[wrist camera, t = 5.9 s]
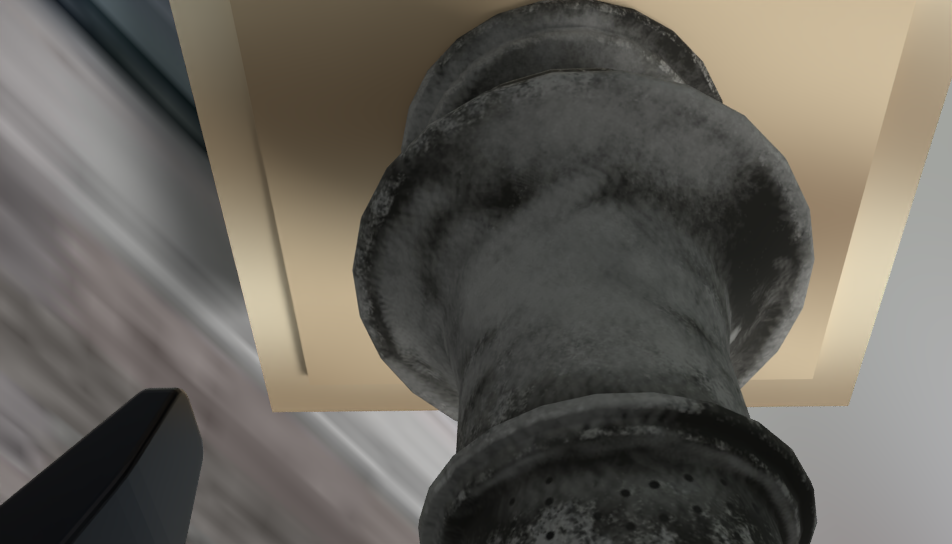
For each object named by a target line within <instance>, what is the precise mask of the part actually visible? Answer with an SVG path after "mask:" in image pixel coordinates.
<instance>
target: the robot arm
mask: <svg viewBox="0 0 952 544" xmlns="http://www.w3.org/2000/svg"><path fill="white" fill-rule="evenodd" d="M202 460H203V443H202V438H201V435H200V432H199V429H198V426H197V423H196V420H195V417H194V413H193V410H192V407H191V404H190V401H189V398H188V396H187V394H186V393H185V392H184V391H183V390H182V389H179V388H148V389H144V390H142V391H141V392H139V393H138V394H136V395H135V396H134V397H133V398H132V399H130V400H129V401H128V402H127V403H125V404H124V405H123V406H122V407H120V408H119V409H118V410H117V411H116V412H114V413H113V414H112V415H111V416H109V417H108V418H107V419H106V420H105V421H103V422H102V423H101V424H100V425H98V426H97V427H96V428H95V429H93V430H92V431H91V432H90V433H89V434H87V435H86V436H85V437H84V438H82V439H81V440H80V441H79V442H78V443H76V444H75V445H74V446H73V447H71V448H70V449H69V450H68V451H67V452H65V453H64V454H63V455H62V456H60V457H59V458H58V459H57V460H55V461H54V462H53V463H52V464H51V465H49V466H48V467H47V468H46V469H44V470H43V471H42V472H41V473H40V474H38V475H37V476H36V477H35V478H33V479H32V480H31V481H30V482H29V483H27V484H26V485H25V486H24V487H22V488H21V489H20V490H19V491H17V492H16V493H15V494H14V495H13V496H11V497H10V498H9V499H8V500H6V501H5V502H4V503H3V504H2V505H0V544H185V543H186V539H187V534H188V529H189V524H190V519H191V514H192V510H193V505H194V500H195V495H196V490H197V485H198V480H199V476H200V471H201V466H202Z"/></svg>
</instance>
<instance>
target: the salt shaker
mask: <svg viewBox="0 0 952 544" xmlns="http://www.w3.org/2000/svg"><path fill="white" fill-rule="evenodd" d="M814 260H815V258H814V247H813V237H812V226H811V215H810V208H809V206H808V204H807V202H806V200H805V198H804V196H803V193H802V191H801V189H800V187H799V185H798V183H797V181H796V179H795V176H794V174H793V172H792V170H791V168H790V166H789V164H788V161H787V160H786V158H785V157H784V156H783V154H782V153H781V152H780V151H779V150H778V149H777V148H776V147H775V146H774V145H773V144H772V143H771V142H770V141H769V140H768V139H767V138H766V137H765V136H764V135H763V134H762V133H761V132H760V131H759V130H758V129H757V128H756V127H755V126H754V125H753V124H752V123H751V122H750V121H749V119H748V118H747V117H746V116H745V115H743V114H741V113H739V112H737V111H736V110H734V109H732V108H730V107H728V106H726V105H724V104H723V101H722V99H721V97H720V95H719V93H718V91H717V89H716V87H715V85H714V83H713V81H712V79H711V77H710V75H709V72H708V70H707V68H706V66H705V64H704V63H703V61H702V60H701V59H700V58H699V57H698V56H697V55H696V54H695V53H694V52H693V51H692V50H691V49H690V48H689V46H688V45H687V44H686V43H685V42H684V41H683V40H682V39H681V38H680V37H679V36H678V35H677V34H676V33H675V32H674V31H673V30H671V29H669V28H667V27H666V26H664V25H662V24H660V23H658V22H657V21H655V20H653V19H651V18H649V17H648V16H646V15H644V14H642V13H640V12H639V11H637V10H635V9H631V8H627V7H623V6H619V5H614V4H610V3H606V2H601V1H597V0H542V1H538V2H535V3H532V4H529V5H525V6H522V7H519V8H515V9H512V10H509V11H506V12H502V13H499V14H496V15H495V16H493V17H491V18H490V19H488V20H486V21H485V22H483V23H482V24H480V25H478V26H477V27H475V28H474V29H472V30H470V31H469V32H467V33H466V34H464V35H462V36H461V37H459V38H457V40H456V41H455V42H454V43H453V44H452V45H451V46H450V47H449V48H448V49H447V50H446V51H445V52H444V54H443V55H442V56H441V57H440V58H439V59H438V60H437V61H436V62H435V63H434V64H433V65H432V66H431V67H430V69H429V70H428V71H427V73H426V75H425V77H424V79H423V81H422V83H421V85H420V87H419V88H418V90H417V92H416V94H415V96H414V98H413V100H412V102H411V104H410V106H409V109H408V114H407V120H406V125H405V130H404V136H403V141H402V146H401V154H400V155H399V156H398V157H397V158H396V159H395V160H394V161H393V162H392V163H391V164H390V165H389V166H388V167H387V168H386V170H385V172H384V174H383V176H382V178H381V180H380V182H379V184H378V186H377V188H376V189H375V191H374V193H373V195H372V197H371V199H370V201H369V203H368V205H367V207H366V209H365V211H364V213H363V215H362V217H361V220H360V226H359V232H358V238H357V245H356V251H355V257H354V263H353V269H352V272H353V278H354V284H355V290H356V296H357V303H358V309H359V315H360V318H361V320H362V322H363V324H364V326H365V328H366V330H367V332H368V334H369V336H370V338H371V340H372V342H373V344H374V346H375V348H376V350H377V352H378V354H379V356H380V358H381V359H382V360H383V361H384V362H385V363H386V365H387V366H388V367H389V368H390V369H391V370H392V371H393V372H394V373H395V374H396V375H397V376H398V378H399V379H400V380H401V381H402V382H403V383H404V384H405V385H406V386H407V387H408V388H409V389H410V391H411V392H412V393H414V394H415V395H417V396H418V397H420V398H421V399H423V400H424V401H426V402H427V403H429V404H431V405H432V406H434V407H435V408H437V409H438V410H440V411H441V412H443V413H444V414H446V415H447V416H449V417H450V418H452V419H453V420H455V421H458V430H457V448H456V454H455V455H454V456H453V457H452V458H451V459H450V461H449V462H448V463H447V465H446V466H445V467H444V469H443V470H442V471H441V473H440V474H439V475H438V477H437V478H436V479H435V481H434V482H433V483H432V485H431V486H430V487H429V490H428V493H427V496H426V500H425V503H424V506H423V509H422V513H421V516H420V519H419V527H418V530H419V538H420V544H810V542H811V539H812V536H813V533H814V530H815V527H816V524H817V518H816V508H815V497H814V489H813V486H812V483H811V481H810V479H809V478H808V476H807V474H806V472H805V471H804V469H803V467H802V465H801V464H800V462H799V460H798V459H797V457H796V455H795V453H794V452H793V450H792V449H791V448H790V447H789V446H787V445H786V444H785V443H784V442H782V441H781V440H780V439H779V438H778V437H776V436H775V435H774V434H773V433H771V432H770V431H769V430H768V429H767V428H765V427H764V426H763V425H762V424H760V423H759V422H757V421H755V420H753V419H750V416H749V413H748V410H747V407H746V404H745V401H744V398H743V395H742V392H741V390H740V389H741V388H742V387H743V386H744V385H745V384H746V383H747V382H748V381H749V380H750V379H751V378H752V377H753V376H754V375H755V374H756V373H757V372H758V371H759V370H760V369H761V368H762V367H763V366H764V365H765V364H766V363H767V362H768V361H769V360H770V359H771V358H772V357H773V356H774V355H775V354H776V353H777V352H778V350H779V349H780V347H781V345H782V343H783V342H784V340H785V338H786V337H787V335H788V333H789V331H790V330H791V328H792V326H793V324H794V323H795V321H796V319H797V318H798V316H799V314H800V312H801V311H802V309H803V306H804V302H805V298H806V294H807V290H808V285H809V281H810V277H811V273H812V269H813V265H814Z"/></svg>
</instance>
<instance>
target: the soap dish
mask: <svg viewBox="0 0 952 544" xmlns="http://www.w3.org/2000/svg"><path fill="white" fill-rule="evenodd" d="M538 1H542V0H169V2H170V6H171V10H172V14H173V18H174V22H175V26H176V30H177V34H178V38H179V42H180V46H181V50H182V54H183V58H184V62H185V66H186V70H187V73H188V77H189V81H190V85H191V89H192V93H193V97H194V101H195V105H196V109H197V113H198V117H199V121H200V125H201V129H202V133H203V137H204V141H205V145H206V149H207V153H208V157H209V161H210V165H211V169H212V173H213V177H214V181H215V185H216V189H217V193H218V197H219V201H220V205H221V209H222V213H223V217H224V221H225V225H226V229H227V233H228V237H229V241H230V245H231V249H232V253H233V257H234V261H235V265H236V269H237V272H238V276H239V280H240V284H241V288H242V292H243V296H244V300H245V304H246V308H247V312H248V316H249V320H250V324H251V328H252V332H253V336H254V340H255V344H256V348H257V352H258V356H259V360H260V364H261V368H262V372H263V376H264V380H265V384H266V388H267V392H268V396H269V400H270V404H271V408H272V412H328V411H421V410H438V409H437V408H435V407H434V406H432V405H431V404H429V403H427V402H426V401H424V400H423V399H421V398H420V397H418V396H417V395H415V394H414V393H412V392H411V391H410V389H409V388H408V387H407V386H406V385H405V384H404V383H403V382H402V381H401V380H400V379H399V378H398V376H397V375H396V374H395V373H394V372H393V371H392V370H391V369H390V368H389V367H388V366H387V365H386V363H385V362H384V361H383V360H382V359H381V358H380V356H379V354H378V352H377V350H376V348H375V346H374V344H373V342H372V340H371V338H370V336H369V334H368V332H367V330H366V328H365V326H364V324H363V322H362V320H361V318H360V315H359V309H358V303H357V296H356V290H355V284H354V278H353V272H352V269H353V263H354V257H355V251H356V245H357V238H358V232H359V226H360V220H361V217H362V215H363V213H364V211H365V209H366V207H367V205H368V203H369V201H370V199H371V197H372V195H373V193H374V191H375V189H376V188H377V186H378V184H379V182H380V180H381V178H382V176H383V174H384V172H385V170H386V168H387V167H388V166H389V165H390V164H391V163H392V162H393V161H394V160H395V159H396V158H397V157H398V156H399V155H400V154H401V146H402V141H403V136H404V130H405V125H406V120H407V114H408V109H409V106H410V104H411V102H412V100H413V98H414V96H415V94H416V92H417V90H418V88H419V87H420V85H421V83H422V81H423V79H424V77H425V75H426V73H427V71H428V70H429V69H430V67H431V66H432V65H433V64H434V63H435V62H436V61H437V60H438V59H439V58H440V57H441V56H442V55H443V54H444V52H445V51H446V50H447V49H448V48H449V47H450V46H451V45H452V44H453V43H454V42H455V41H456V40H457V38H459V37H461V36H462V35H464V34H466V33H467V32H469V31H470V30H472V29H474V28H475V27H477V26H478V25H480V24H482V23H483V22H485V21H486V20H488V19H490V18H491V17H493V16H495V15H496V14H499V13H502V12H506V11H509V10H512V9H515V8H519V7H522V6H525V5H529V4H532V3H535V2H538ZM597 1H601V2H606V3H610V4H614V5H619V6H623V7H627V8H631V9H635V10H637V11H639V12H640V13H642V14H644V15H646V16H648V17H649V18H651V19H653V20H655V21H657V22H658V23H660V24H662V25H664V26H666V27H667V28H669V29H671V30H673V31H674V32H675V33H676V34H677V35H678V36H679V37H680V38H681V39H682V40H683V41H684V42H685V43H686V44H687V45H688V46H689V48H690V49H691V50H692V51H693V52H694V53H695V54H696V55H697V56H698V57H699V58H700V59H701V60H702V61H703V63H704V64H705V66H706V68H707V70H708V72H709V75H710V77H711V79H712V81H713V83H714V85H715V87H716V89H717V91H718V93H719V95H720V97H721V99H722V101H723V104H724V105H726V106H728V107H730V108H732V109H734V110H736V111H737V112H739V113H741V114H743V115H745V116H746V117H747V118H748V119H749V121H750V122H751V123H752V124H753V125H754V126H755V127H756V128H757V129H758V130H759V131H760V132H761V133H762V134H763V135H764V136H765V137H766V138H767V139H768V140H769V141H770V142H771V143H772V144H773V145H774V146H775V147H776V148H777V149H778V150H779V151H780V152H781V153H782V154H783V156H784V157H785V158H786V160H787V161H788V164H789V166H790V168H791V170H792V172H793V174H794V176H795V179H796V181H797V183H798V185H799V187H800V189H801V191H802V193H803V196H804V198H805V200H806V202H807V204H808V206H809V208H810V215H811V226H812V237H813V247H814V258H815V260H814V265H813V269H812V273H811V277H810V281H809V285H808V290H807V294H806V298H805V302H804V306H803V309H802V311H801V312H800V314H799V316H798V318H797V319H796V321H795V323H794V324H793V326H792V328H791V330H790V331H789V333H788V335H787V337H786V338H785V340H784V342H783V343H782V345H781V347H780V349H779V350H778V352H777V353H776V354H775V355H774V356H773V357H772V358H771V359H770V360H769V361H768V362H767V363H766V364H765V365H764V366H763V367H762V368H761V369H760V370H759V371H758V372H757V373H756V374H755V375H754V376H753V377H752V378H751V379H750V380H749V381H748V382H747V383H746V384H745V385H744V386H743V387H742V388H741V389H740V390H741V392H742V395H743V398H744V401H745V404H746V407H782V406H783V407H786V406H787V407H789V406H848V405H849V402H850V399H851V395H852V392H853V389H854V386H855V383H856V380H857V376H858V373H859V370H860V367H861V364H862V361H863V358H864V354H865V351H866V348H867V345H868V342H869V339H870V335H871V332H872V329H873V326H874V323H875V320H876V316H877V313H878V310H879V307H880V304H881V301H882V297H883V294H884V291H885V288H886V284H887V281H888V278H889V275H890V272H891V269H892V266H893V262H894V259H895V256H896V253H897V250H898V247H899V243H900V240H901V237H902V234H903V231H904V228H905V224H906V221H907V218H908V215H909V211H910V208H911V206H912V202H913V199H914V196H915V193H916V190H917V187H918V183H919V180H920V177H921V174H922V170H923V167H924V164H925V161H926V158H927V155H928V152H929V148H930V145H931V142H932V139H933V135H934V132H935V129H936V126H937V123H938V120H939V117H940V114H941V110H942V107H943V104H944V101H945V97H946V95H947V91H948V88H949V85H950V82H951V78H952V0H597Z"/></svg>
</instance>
